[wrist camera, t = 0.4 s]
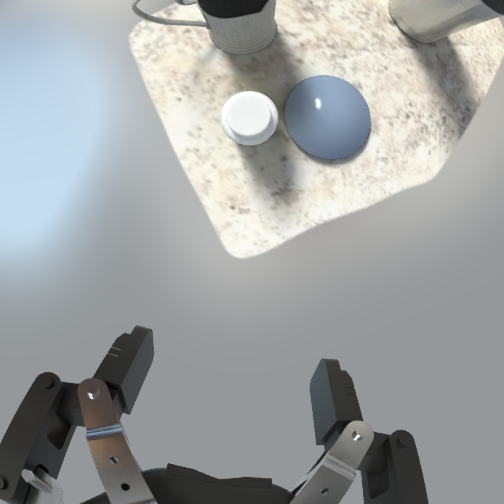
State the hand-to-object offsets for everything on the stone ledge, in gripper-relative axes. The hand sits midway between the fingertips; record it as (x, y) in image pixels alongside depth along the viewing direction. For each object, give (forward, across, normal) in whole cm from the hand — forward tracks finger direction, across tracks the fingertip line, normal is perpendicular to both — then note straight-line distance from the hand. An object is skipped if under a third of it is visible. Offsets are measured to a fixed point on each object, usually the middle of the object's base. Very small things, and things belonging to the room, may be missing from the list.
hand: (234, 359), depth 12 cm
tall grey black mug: (+26, +9, -24) cm, 36 cm away
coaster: (+26, -7, -14) cm, 30 cm away
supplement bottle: (+26, +2, -11) cm, 28 cm away
